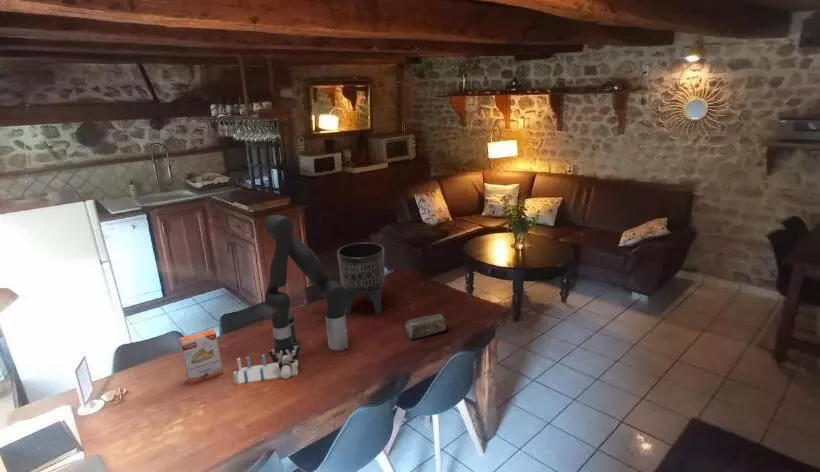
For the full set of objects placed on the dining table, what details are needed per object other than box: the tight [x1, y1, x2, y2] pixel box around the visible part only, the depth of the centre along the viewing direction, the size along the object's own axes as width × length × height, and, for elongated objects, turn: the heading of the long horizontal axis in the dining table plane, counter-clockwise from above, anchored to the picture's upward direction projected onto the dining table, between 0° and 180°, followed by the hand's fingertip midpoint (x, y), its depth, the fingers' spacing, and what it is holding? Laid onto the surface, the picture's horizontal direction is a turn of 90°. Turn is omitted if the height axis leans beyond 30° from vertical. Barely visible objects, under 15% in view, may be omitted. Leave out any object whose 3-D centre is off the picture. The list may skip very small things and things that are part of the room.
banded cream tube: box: [281, 355, 292, 380], centre depth 214 cm, size 16×4×4 cm, turn 11°
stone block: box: [405, 313, 447, 340], centre depth 240 cm, size 20×9×10 cm
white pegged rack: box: [233, 350, 299, 385], centre depth 212 cm, size 26×13×6 cm, turn 101°
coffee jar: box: [288, 311, 299, 350], centre depth 229 cm, size 10×8×19 cm
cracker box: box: [179, 328, 224, 386], centre depth 209 cm, size 14×6×21 cm, turn 124°
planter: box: [336, 241, 385, 316], centre depth 264 cm, size 25×25×36 cm
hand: (287, 368), depth 215 cm, fingers closed on banded cream tube, 4 cm apart
